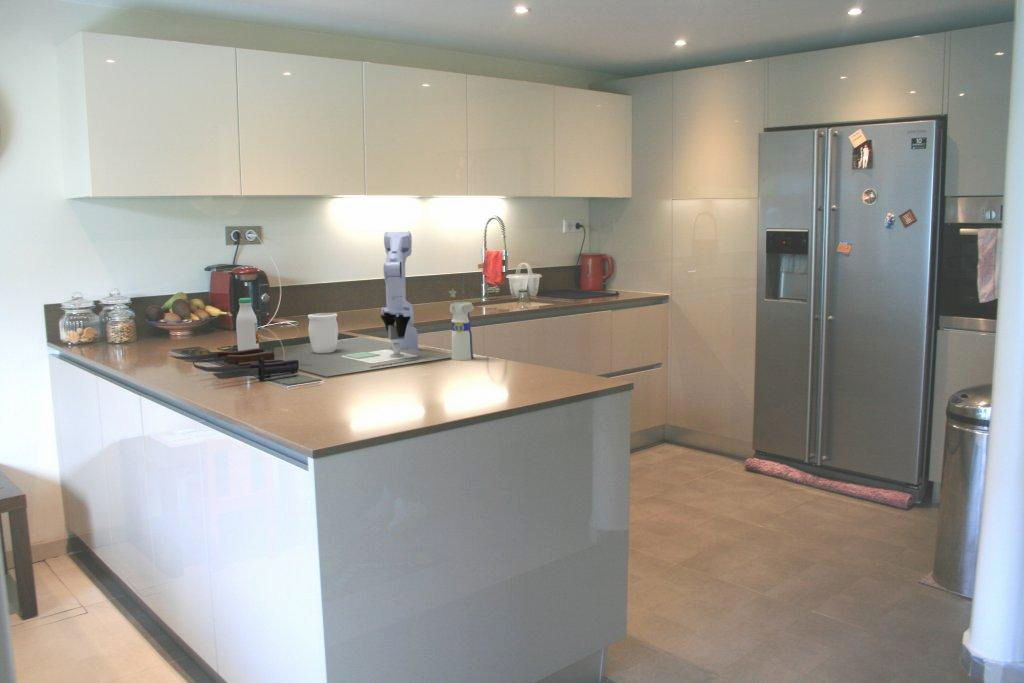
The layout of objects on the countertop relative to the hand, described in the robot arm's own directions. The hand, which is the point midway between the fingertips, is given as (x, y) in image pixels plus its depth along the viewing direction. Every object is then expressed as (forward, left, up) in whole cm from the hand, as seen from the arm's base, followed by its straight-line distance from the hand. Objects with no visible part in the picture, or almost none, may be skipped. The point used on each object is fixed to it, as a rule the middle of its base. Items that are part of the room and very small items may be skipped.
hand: (396, 335), depth 288 cm
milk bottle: (+27, -60, -9) cm, 66 cm away
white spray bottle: (-18, +14, -9) cm, 25 cm away
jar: (+12, -29, -9) cm, 33 cm away
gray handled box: (0, 0, -1) cm, 1 cm away
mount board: (+4, -5, -9) cm, 11 cm away
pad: (+8, -10, -7) cm, 15 cm away
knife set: (+49, -18, -9) cm, 53 cm away
